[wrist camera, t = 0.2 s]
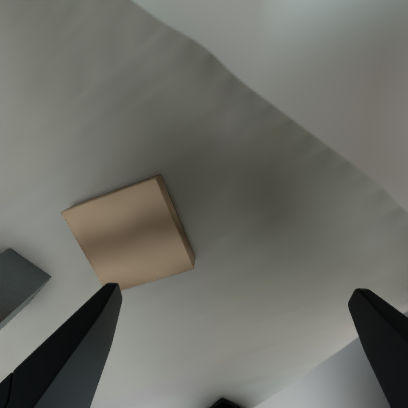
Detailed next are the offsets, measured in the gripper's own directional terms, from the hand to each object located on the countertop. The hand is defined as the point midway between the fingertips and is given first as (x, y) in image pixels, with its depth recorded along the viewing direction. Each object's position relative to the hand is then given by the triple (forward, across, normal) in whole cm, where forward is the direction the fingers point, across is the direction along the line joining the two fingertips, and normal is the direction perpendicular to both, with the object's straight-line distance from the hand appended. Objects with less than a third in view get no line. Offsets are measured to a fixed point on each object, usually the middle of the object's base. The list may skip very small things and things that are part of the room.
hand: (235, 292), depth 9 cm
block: (+14, +9, +8) cm, 19 cm away
